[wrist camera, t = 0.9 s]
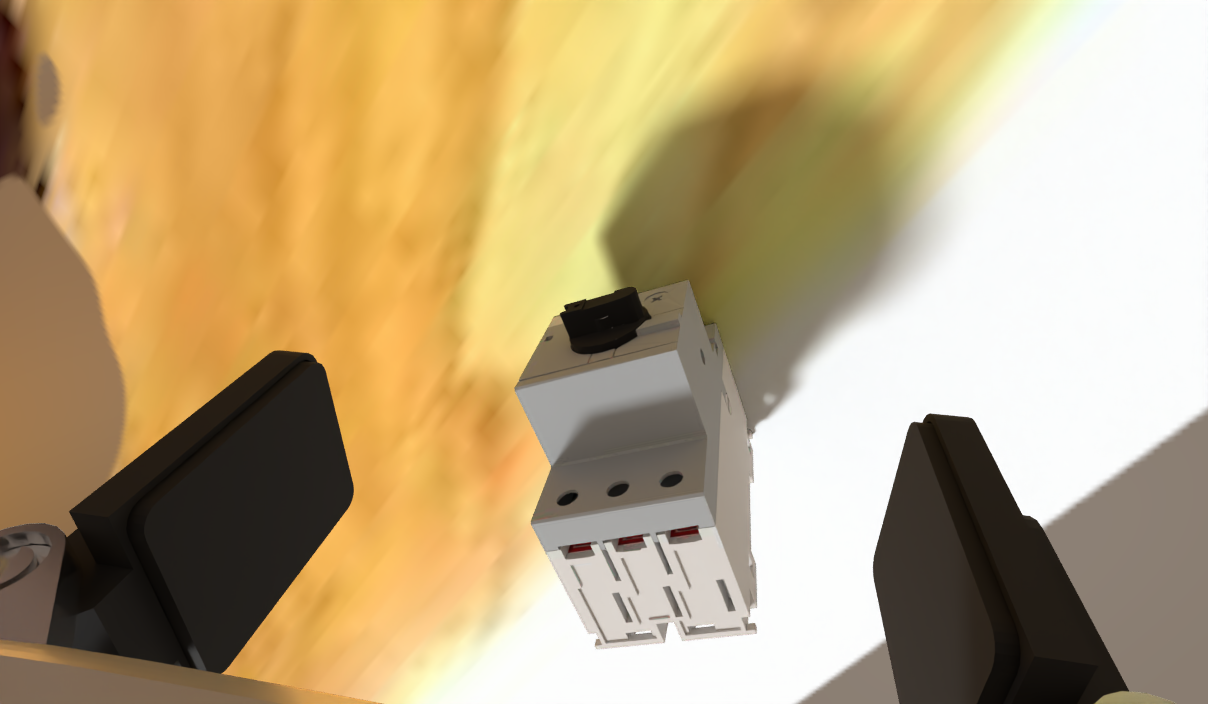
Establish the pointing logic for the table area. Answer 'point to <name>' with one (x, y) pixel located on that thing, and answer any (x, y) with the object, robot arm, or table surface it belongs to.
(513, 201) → the table surface
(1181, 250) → the table surface
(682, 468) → the circuit breaker
